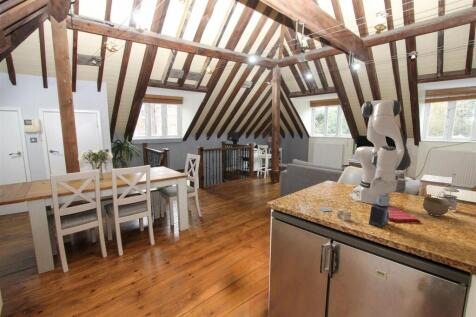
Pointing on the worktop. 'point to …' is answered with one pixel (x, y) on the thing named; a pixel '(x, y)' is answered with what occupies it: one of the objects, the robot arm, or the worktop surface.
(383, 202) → the grey cube
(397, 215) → the dish towel
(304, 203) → the worktop surface
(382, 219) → the small box
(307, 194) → the worktop surface
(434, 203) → the bowl
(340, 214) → the maple block
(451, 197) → the french press
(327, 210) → the tile
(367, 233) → the worktop surface
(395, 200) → the worktop surface
